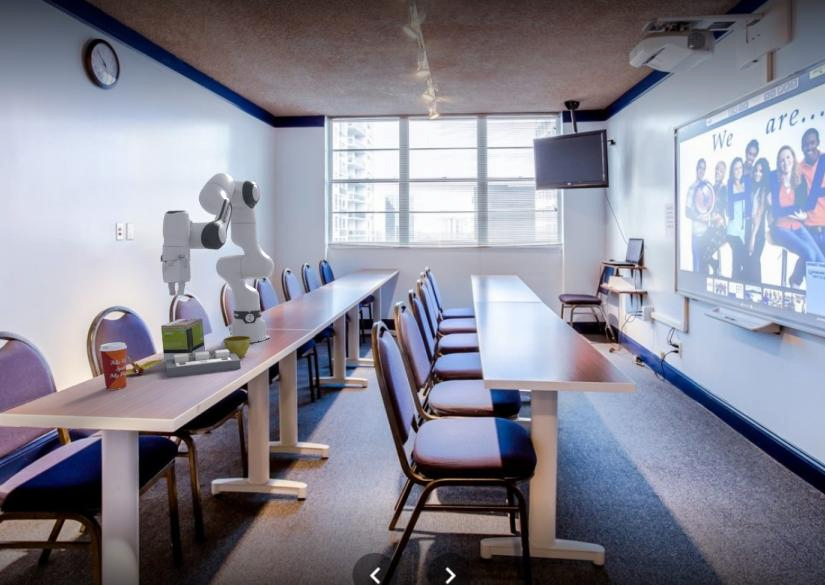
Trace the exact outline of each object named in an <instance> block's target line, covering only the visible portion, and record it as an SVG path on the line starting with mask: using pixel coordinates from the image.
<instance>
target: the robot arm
mask: <svg viewBox="0 0 825 585" xmlns="http://www.w3.org/2000/svg"><path fill="white" fill-rule="evenodd" d="M260 196H261V192H260V188H259V186H258V184H257V183H256V182H254V181H251V180H233V178H232V177H231V176H230V175H228V174H227V173H224V172H219V173H216V174H214V175H213V176H212V177H211V178H210V179H208V180H207V182H206V183H205V185H203V186H202V189H201V190H200V192H199V195H198V202H199V205H200V206H201V208H202V209H203V210H204V211H205V212H207V213H208V214H211V215H213V216H215V217H214V219H213V220H212V221H207V222H205V221H204V222H193V221H192V220H191V219H190V216H189V215H190V214H189V211H187V210H183V209H181V210H168V211H166V212H164V215H163V216H164V217H163V221H162V222H163V223H162V238H163V244H162V252H161V256H160V257H159V258H160V263H162V264H161V267H162V269H161V270H162V271H161V272H162V280H163V283H165V284H167V288H168V291H169V296H170V297H171V296H172V297H173V296H176V294H177V296H184V294H185V288H186V282H187V283H189V282H190V281H191V278H192V277H191V276H192V275H191V263H190V262H191V250H214V251H218V250H220V249H221V248H222V247H223V246H224V245H225V244H226V241H227V236H228V229H229V225H230V239H231V242H232V243H233V244H234V245H235V246H237V247H239V248H241V249H242V250H243V253H244V254H228V255H223V256H221V257H219V258H218V260H217V261H216V264H215V270H216V273H217V275H218V276H219V277H220V278H222V279H223V280H224V281H225V282H226V283H227V284H228V286H229V288H230V289H231V291H232V296H233V297H232V298H233V306H234V310H233V318H234V319H233V321H231V324H230V325H229V326H228V331H229V335H228V337H234V336H248V337H250V343H258V341H259V342H262V341H266V340H269V339H270V338H271V337H270V335H268V334H267V332H266V331H267V330H266V320H264V319H263V318H262V309H261V304H260V303H261V302H260V300H261V299H260V293H259V291H258V290H257V289H256V288H255V287H253V286H250V285H249V284H248V281H247V280H262V279H265V278H270V277H271V276H272V275H273V273H274V270H275V263H274V261H273V259H272V257H271V256H269V255H267V254H266V253H265V252H264V250H263V249H262V247H261V245H260V243H259V240H258V232H257V231H258V230H257V228H258V226H257V215H256V209H255V207H256V206H257V203H258V202H259V201H260ZM176 283H177V291H176ZM176 292H177V293H176ZM268 338H269V339H268Z"/></svg>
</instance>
